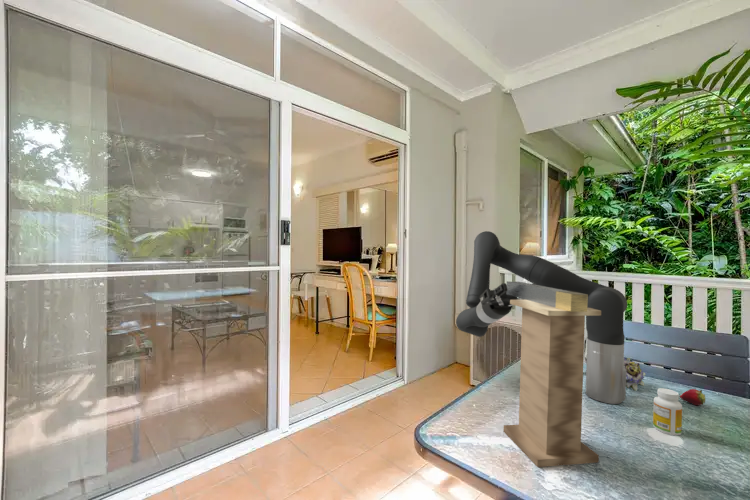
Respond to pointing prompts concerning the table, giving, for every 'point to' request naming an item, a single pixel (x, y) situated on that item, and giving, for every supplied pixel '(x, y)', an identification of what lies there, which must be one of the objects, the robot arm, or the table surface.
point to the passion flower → (633, 374)
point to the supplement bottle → (667, 412)
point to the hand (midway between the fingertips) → (520, 286)
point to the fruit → (693, 397)
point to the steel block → (549, 296)
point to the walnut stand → (551, 386)
